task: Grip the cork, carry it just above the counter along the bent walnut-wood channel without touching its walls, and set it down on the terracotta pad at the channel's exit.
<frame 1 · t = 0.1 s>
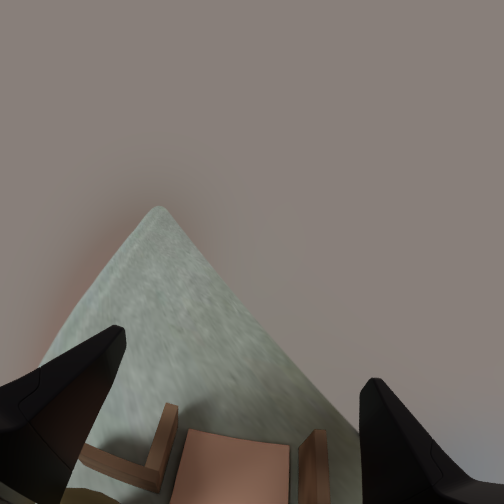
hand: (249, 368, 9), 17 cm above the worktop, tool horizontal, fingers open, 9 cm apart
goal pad: (233, 483, 17), on the worktop
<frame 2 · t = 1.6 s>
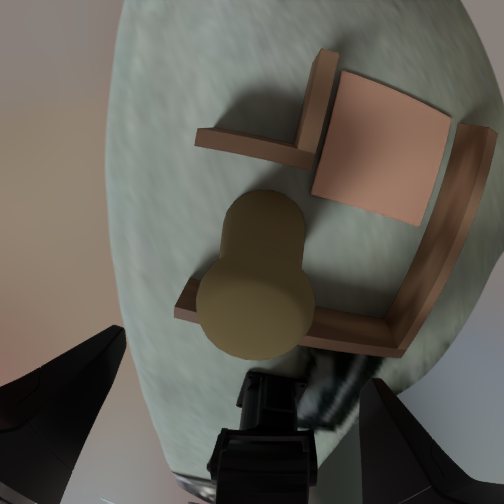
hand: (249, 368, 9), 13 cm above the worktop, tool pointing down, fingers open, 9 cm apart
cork: (264, 229, 21), on the worktop
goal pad: (386, 151, 18), on the worktop
bent channel: (328, 205, 20), on the worktop
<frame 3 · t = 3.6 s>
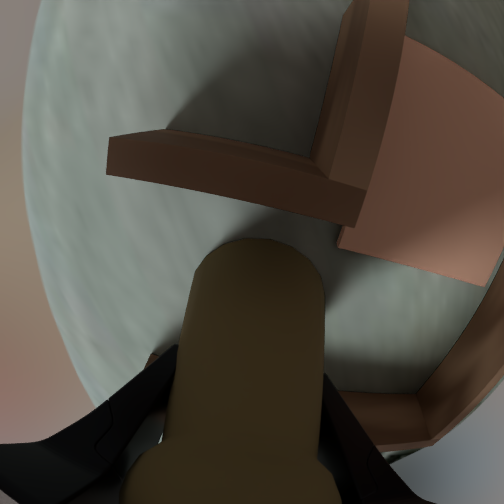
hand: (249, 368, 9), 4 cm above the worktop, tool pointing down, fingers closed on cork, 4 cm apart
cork: (257, 298, 13), on the worktop, touching gripper
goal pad: (458, 174, 9), on the worktop
bent channel: (364, 262, 11), on the worktop
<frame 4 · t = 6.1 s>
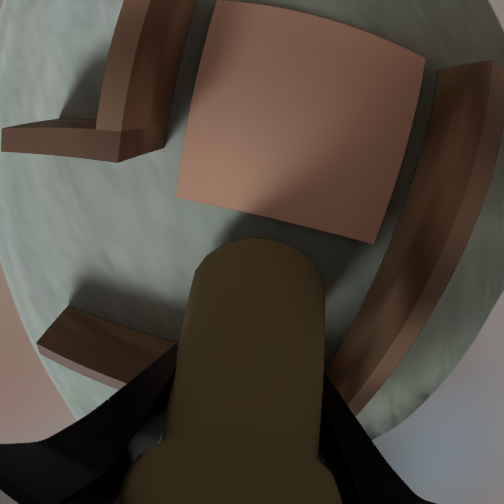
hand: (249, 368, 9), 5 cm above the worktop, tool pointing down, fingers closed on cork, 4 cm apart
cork: (257, 297, 13), point 1 cm above the worktop, touching gripper
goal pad: (303, 115, 10), on the worktop
bent channel: (208, 212, 13), on the worktop
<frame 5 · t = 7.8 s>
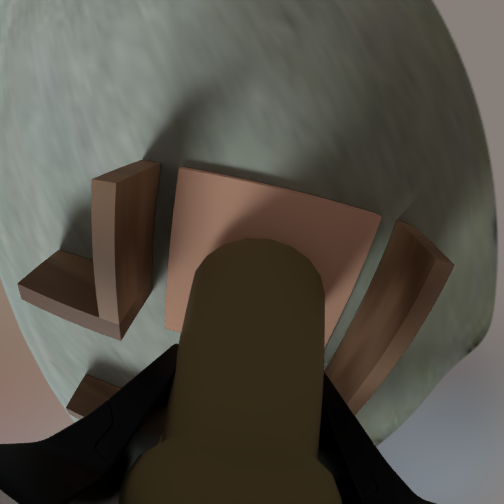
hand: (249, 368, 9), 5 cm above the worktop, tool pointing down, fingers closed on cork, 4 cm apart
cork: (257, 298, 13), point 1 cm above the worktop, touching gripper
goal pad: (260, 277, 14), on the worktop
bent channel: (191, 336, 16), on the worktop
when the fingers open (5 cm above the worktop, at t = 9.0 s): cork stays where it is, resting on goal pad.
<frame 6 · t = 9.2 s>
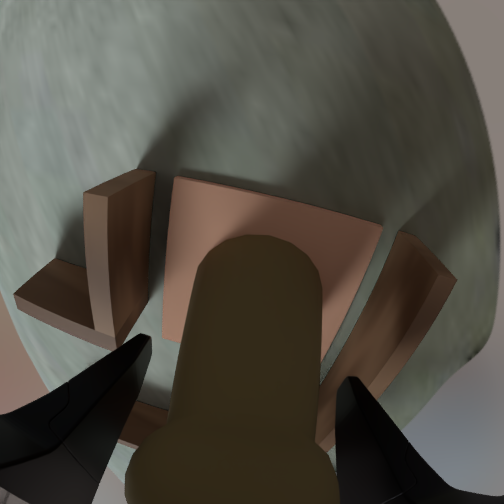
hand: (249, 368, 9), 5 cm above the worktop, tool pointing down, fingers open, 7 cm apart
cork: (257, 292, 13), resting on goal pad
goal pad: (258, 288, 14), on the worktop
bent channel: (188, 345, 16), on the worktop
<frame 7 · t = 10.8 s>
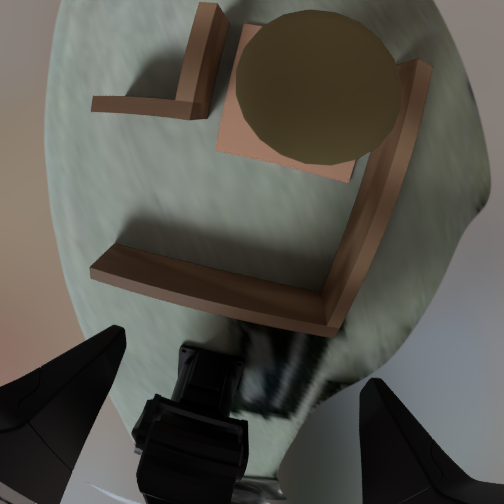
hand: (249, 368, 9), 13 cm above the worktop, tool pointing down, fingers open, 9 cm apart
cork: (298, 100, 16), resting on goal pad
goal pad: (299, 99, 16), on the worktop
bent channel: (236, 161, 18), on the worktop
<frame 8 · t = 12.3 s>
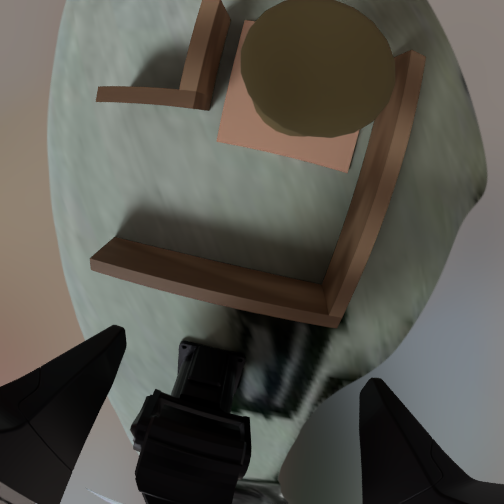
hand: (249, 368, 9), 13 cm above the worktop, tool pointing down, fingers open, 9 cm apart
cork: (297, 92, 16), resting on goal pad
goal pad: (298, 92, 16), on the worktop
bent channel: (237, 152, 19), on the worktop
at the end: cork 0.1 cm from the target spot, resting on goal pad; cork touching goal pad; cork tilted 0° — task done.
